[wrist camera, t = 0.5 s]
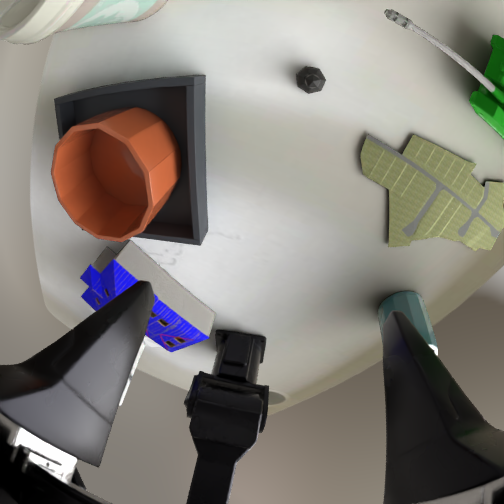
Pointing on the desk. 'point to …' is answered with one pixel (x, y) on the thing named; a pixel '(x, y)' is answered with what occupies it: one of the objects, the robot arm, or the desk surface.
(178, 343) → the house
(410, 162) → the map
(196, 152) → the tray
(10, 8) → the coffee cup
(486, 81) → the toy tank
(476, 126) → the desk surface
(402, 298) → the teal cup
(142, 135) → the terracotta cup
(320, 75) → the chess pawn
